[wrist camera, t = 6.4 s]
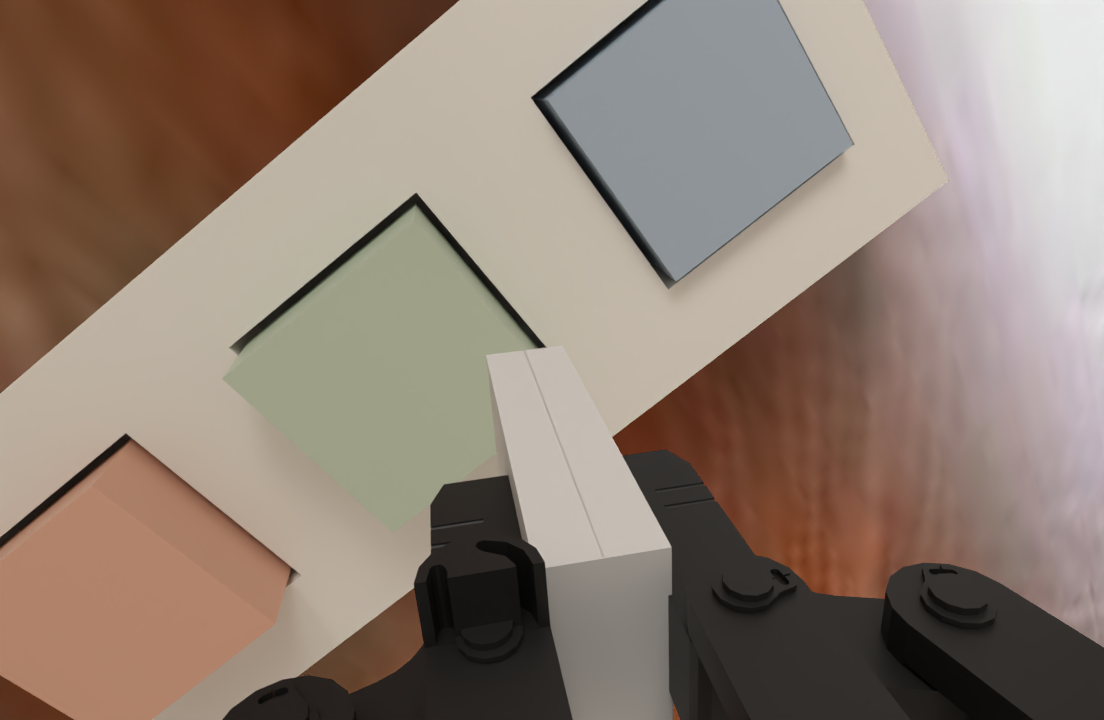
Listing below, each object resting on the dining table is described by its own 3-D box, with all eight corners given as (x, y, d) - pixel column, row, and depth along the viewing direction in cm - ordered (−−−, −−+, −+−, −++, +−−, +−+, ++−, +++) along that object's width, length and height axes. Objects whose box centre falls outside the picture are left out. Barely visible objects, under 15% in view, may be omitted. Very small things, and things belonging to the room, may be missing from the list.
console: (-81, 473, 26) (-188, 553, 22) (682, -178, 23) (746, -245, 19) (209, 673, 32) (172, 771, 27) (864, 166, 28) (948, 180, 24)
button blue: (532, 99, 23) (547, 99, 20) (702, -42, 23) (743, -63, 20) (647, 259, 26) (676, 281, 23) (802, 138, 25) (852, 143, 22)
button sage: (248, 341, 22) (221, 378, 20) (415, 203, 22) (413, 220, 19) (397, 481, 25) (393, 532, 22) (549, 361, 24) (566, 398, 22)
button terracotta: (-17, 560, 24) (-80, 627, 21) (135, 435, 23) (92, 485, 20) (152, 672, 26) (117, 746, 23) (292, 562, 26) (274, 624, 23)
